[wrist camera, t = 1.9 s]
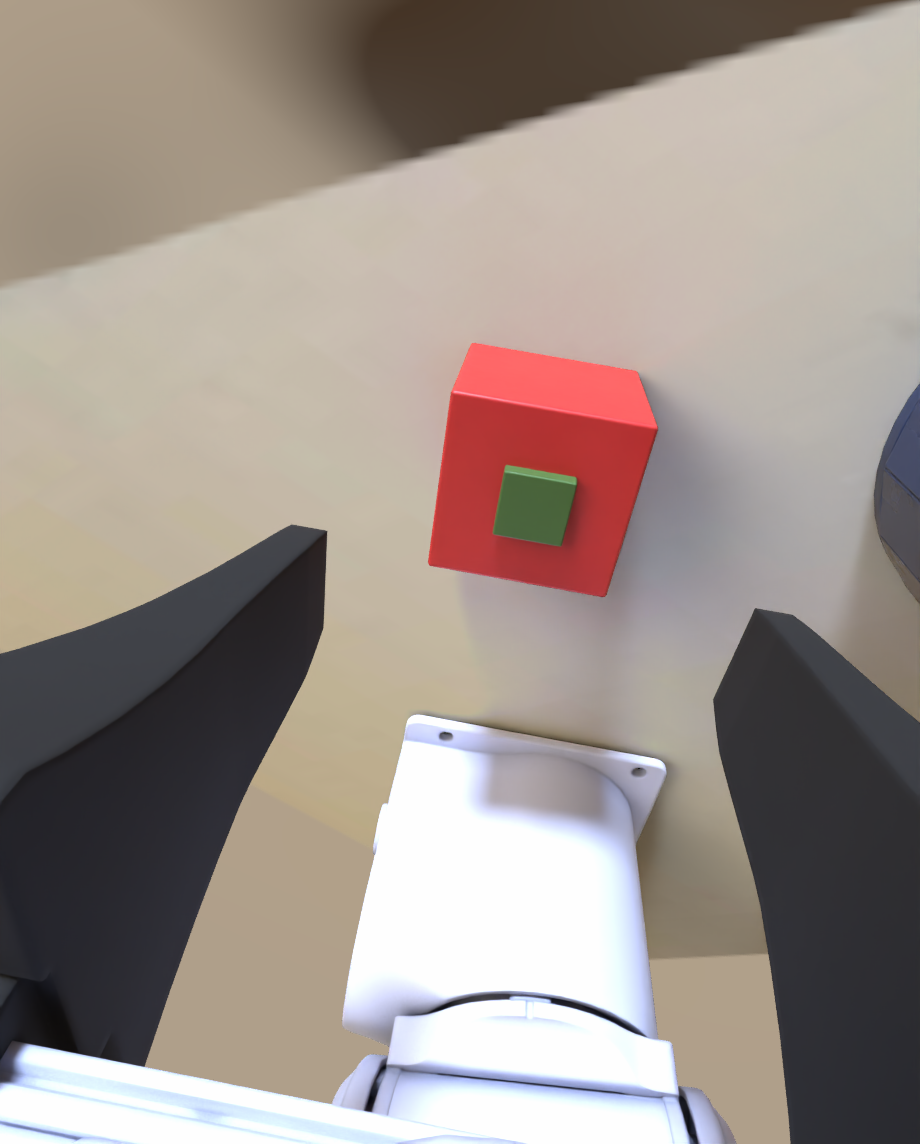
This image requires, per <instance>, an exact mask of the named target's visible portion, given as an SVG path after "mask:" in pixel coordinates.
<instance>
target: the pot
mask: <svg viewBox="0 0 920 1144" xmlns="http://www.w3.org/2000/svg"><path fill="white" fill-rule="evenodd" d="M874 507H875V519H876V524H877V529H878V534H879V537H880V539H881V542H882V544H883V547H884V549H885V552H886V554H887V555H888V557H889V558H890V560H891V562H892V563H893V565H894V566H895V568H896V569H897V571H898V572H899V574H900V576H901V578H902V580H903V582H904V584H905V586H906V587H907V588H908V590H909V591H910V592H911V593H912V595H913V596H914V597H915V598H916V600H917V601H918V602H919V603H920V384H919V385H918V387H917V388H916V389H915V391H914V392H913V393H912V395H911V396H910V397H909V399H908V400H907V402H906V404H905V406H904V407H903V409H902V411H901V413H900V414H899V416H898V418H897V419H896V421H895V423H894V425H893V427H892V430H891V432H890V434H889V437H888V439H887V441H886V444H885V446H884V449H883V452H882V456H881V459H880V463H879V466H878V470H877V476H876V484H875V491H874Z"/></svg>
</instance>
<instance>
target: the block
mask: <svg viewBox="0 0 920 1144" xmlns="http://www.w3.org/2000/svg"><path fill="white" fill-rule="evenodd" d="M657 431H658V426H657V423H656V421H655V418H654V415H653V413H652V410H651V407H650V405H649V402H648V399H647V396H646V394H645V391H644V388H643V386H642V383H641V380H640V378H639V375H638V372H636V371H632V370H626V369H620V368H615V367H609V366H603V365H597V364H592V363H586V362H580V361H574V360H569V359H563V358H557V357H551V356H546V355H540V354H534V353H528V352H523V351H517V350H511V349H505V348H499V347H494V346H488V345H482V344H476V343H472V344H471V346H470V348H469V350H468V353H467V355H466V358H465V360H464V363H463V365H462V367H461V370H460V372H459V375H458V377H457V380H456V382H455V384H454V387H453V389H452V392H451V396H450V403H449V411H448V418H447V426H446V433H445V440H444V448H443V455H442V462H441V470H440V477H439V485H438V492H437V499H436V507H435V514H434V522H433V529H432V536H431V544H430V551H429V559H428V563H429V565H430V566H434V567H439V568H445V569H450V570H456V571H461V572H467V573H472V574H478V575H483V576H489V577H494V578H500V579H505V580H511V581H516V582H522V583H527V584H533V585H539V586H544V587H550V588H555V589H561V590H566V591H572V592H577V593H583V594H588V595H594V596H599V597H605V596H606V595H607V592H608V589H609V585H610V582H611V579H612V576H613V572H614V569H615V566H616V563H617V560H618V556H619V553H620V550H621V547H622V544H623V540H624V537H625V534H626V531H627V527H628V524H629V521H630V518H631V515H632V511H633V508H634V505H635V502H636V499H637V495H638V492H639V489H640V486H641V482H642V479H643V476H644V473H645V470H646V466H647V463H648V460H649V457H650V454H651V450H652V447H653V444H654V441H655V437H656V434H657Z"/></svg>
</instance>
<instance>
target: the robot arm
mask: <svg viewBox="0 0 920 1144" xmlns="http://www.w3.org/2000/svg"><path fill="white" fill-rule="evenodd" d="M326 548H327V531H325V530H319V529H314V528H308V527H303V526H297V525H290V526H288V527H286V528H284V529H282V530H280V531H279V532H277V533H275V534H273V535H272V536H270V537H268V538H267V539H265V540H263V541H262V542H260V543H258V544H257V545H255V546H253V547H252V548H250V549H248V550H246V551H245V552H243V553H241V554H240V555H238V556H236V557H234V558H233V559H231V560H229V561H227V562H225V563H224V564H222V565H220V566H218V567H217V568H215V569H213V570H211V571H210V572H208V573H206V574H204V575H202V576H200V577H198V578H196V579H194V580H192V581H190V582H188V583H186V584H184V585H182V586H180V587H178V588H176V589H174V590H172V591H170V592H168V593H166V594H164V595H162V596H160V597H158V598H156V599H154V600H152V601H150V602H147V603H145V604H143V605H141V606H138V607H136V608H134V609H131V610H129V611H127V612H124V613H122V614H119V615H117V616H114V617H111V618H109V619H106V620H104V621H101V622H99V623H96V624H94V625H91V626H88V627H85V628H82V629H79V630H76V631H73V632H70V633H67V634H64V635H61V636H57V637H54V638H51V639H48V640H45V641H42V642H39V643H35V644H32V645H29V646H26V647H23V648H20V649H16V650H13V651H9V652H6V653H2V654H0V1144H736V1141H735V1139H734V1136H733V1134H732V1132H731V1130H730V1128H729V1126H728V1124H727V1123H726V1121H725V1120H724V1119H723V1118H722V1117H721V1116H720V1114H719V1113H718V1112H717V1111H716V1110H715V1108H714V1107H713V1106H712V1104H711V1102H710V1100H709V1098H708V1097H707V1096H706V1095H705V1094H704V1093H703V1091H702V1090H700V1089H697V1088H692V1087H682V1086H678V1083H677V1076H676V1068H675V1060H674V1052H673V1045H672V1044H671V1043H670V1042H669V1041H664V1040H658V1033H657V1025H656V1017H655V1008H654V1000H653V991H652V982H651V974H650V965H649V957H648V948H647V940H646V931H645V923H644V914H643V906H642V897H641V889H640V880H639V872H638V863H637V855H636V844H637V842H638V839H639V837H640V835H641V833H642V830H643V828H644V826H645V824H646V821H647V819H648V817H649V815H650V812H651V810H652V808H653V806H654V803H655V801H656V799H657V797H658V795H659V792H660V790H661V788H662V786H663V783H664V781H665V779H666V776H667V771H666V767H665V764H664V763H663V762H662V761H661V760H658V759H655V758H649V757H644V756H639V755H633V754H628V753H623V752H617V751H612V750H606V749H601V748H596V747H590V746H585V745H580V744H574V743H569V742H564V741H558V740H553V739H547V738H542V737H537V736H531V735H526V734H521V733H515V732H510V731H505V730H499V729H494V728H488V727H483V726H478V725H472V724H467V723H462V722H456V721H451V720H446V719H440V718H435V717H429V716H424V715H415V716H412V717H410V718H409V719H408V721H407V725H406V729H405V736H404V742H403V746H402V750H401V754H400V758H399V762H398V766H397V770H396V774H395V778H394V782H393V786H392V790H391V794H390V798H389V802H388V804H386V803H385V804H383V806H382V809H381V812H380V816H379V820H378V825H377V830H376V835H375V840H374V847H373V854H374V855H375V858H374V862H373V866H372V870H371V874H370V878H369V882H368V886H367V891H366V895H365V899H364V904H363V908H362V913H361V917H360V922H359V927H358V932H357V936H356V941H355V946H354V951H353V956H352V961H351V967H350V972H349V978H348V984H347V990H346V996H345V1003H344V1010H343V1020H342V1026H343V1028H344V1029H346V1030H348V1031H350V1032H353V1033H355V1034H358V1035H361V1036H364V1037H368V1038H370V1039H373V1040H375V1041H377V1042H380V1043H382V1044H384V1045H387V1046H388V1047H390V1048H389V1054H388V1056H385V1055H368V1056H366V1057H365V1058H364V1059H363V1060H362V1061H361V1062H360V1063H359V1065H358V1066H357V1068H356V1070H355V1071H354V1072H353V1073H352V1074H351V1075H350V1076H349V1077H348V1078H347V1079H346V1080H345V1081H344V1082H343V1083H342V1085H341V1086H340V1088H339V1089H338V1091H337V1093H336V1095H335V1097H334V1100H333V1102H332V1104H326V1103H321V1102H316V1101H311V1100H306V1099H301V1098H296V1097H291V1096H286V1095H281V1094H276V1093H271V1092H266V1091H261V1090H256V1089H251V1088H246V1087H241V1086H236V1085H231V1084H226V1083H221V1082H216V1081H211V1080H206V1079H201V1078H196V1077H191V1076H186V1075H181V1074H176V1073H171V1072H166V1071H161V1070H156V1069H151V1068H146V1067H144V1066H145V1063H146V1060H147V1057H148V1054H149V1051H150V1048H151V1046H152V1043H153V1040H154V1036H155V1034H156V1031H157V1028H158V1025H159V1022H160V1019H161V1016H162V1013H163V1010H164V1007H165V1004H166V1001H167V998H168V995H169V992H170V989H171V986H172V984H173V981H174V978H175V975H176V972H177V970H178V967H179V964H180V961H181V958H182V956H183V953H184V950H185V947H186V945H187V942H188V939H189V936H190V933H191V930H192V928H193V925H194V922H195V919H196V917H197V914H198V911H199V909H200V906H201V903H202V901H203V898H204V896H205V893H206V890H207V888H208V885H209V882H210V880H211V877H212V874H213V872H214V869H215V867H216V864H217V861H218V858H219V856H220V853H221V851H222V848H223V846H224V844H225V841H226V838H227V836H228V834H229V831H230V828H231V826H232V823H233V821H234V818H235V816H236V813H237V811H238V808H239V806H240V803H241V802H242V800H243V797H244V795H245V793H246V791H247V789H248V787H249V785H250V783H251V781H252V779H253V777H254V775H255V773H256V771H257V769H258V767H259V765H260V763H261V762H262V760H263V758H264V756H265V754H266V752H267V750H268V748H269V746H270V744H271V743H272V741H273V739H274V737H275V735H276V733H277V731H278V729H279V727H280V725H281V724H282V722H283V720H284V718H285V716H286V714H287V712H288V710H289V708H290V706H291V704H292V703H293V701H294V699H295V697H296V695H297V693H298V691H299V689H300V687H301V685H302V683H303V681H304V679H305V677H306V675H307V672H308V669H309V667H310V664H311V661H312V659H313V656H314V653H315V650H316V648H317V645H318V642H319V639H320V636H321V633H322V630H323V624H324V599H325V573H326ZM713 702H714V712H715V722H716V731H717V738H718V745H719V752H720V757H721V760H722V764H723V768H724V772H725V776H726V779H727V783H728V787H729V790H730V794H731V798H732V801H733V805H734V808H735V812H736V816H737V819H738V823H739V826H740V830H741V833H742V837H743V840H744V844H745V848H746V851H747V855H748V858H749V862H750V865H751V869H752V872H753V876H754V880H755V884H756V889H757V893H758V897H759V902H760V906H761V912H762V918H763V924H764V930H765V936H766V942H767V948H768V954H769V960H770V966H771V973H772V981H773V988H774V995H775V1002H776V1010H777V1017H778V1024H779V1031H780V1040H781V1049H782V1058H783V1068H784V1078H785V1087H786V1096H787V1106H788V1115H789V1126H790V1127H789V1128H790V1141H791V1144H920V723H919V722H918V721H917V720H916V719H915V718H913V717H912V716H911V715H910V714H909V713H907V712H906V711H905V710H904V709H903V708H901V707H900V706H899V705H898V704H897V703H895V702H894V701H893V700H892V699H891V698H890V697H888V696H887V695H886V694H885V693H884V692H883V691H881V690H880V689H879V688H878V687H877V686H876V685H875V684H873V683H872V682H871V681H870V680H869V679H868V678H867V677H865V676H864V675H863V674H862V673H861V672H860V671H859V670H858V669H856V668H855V667H854V666H853V665H852V664H851V663H850V662H848V661H847V660H846V659H845V658H844V657H843V656H842V655H841V654H839V653H838V652H837V651H836V650H835V649H834V648H833V647H831V646H830V645H829V644H828V643H827V642H826V641H825V640H823V639H822V638H821V637H820V636H819V635H818V634H816V633H815V632H814V631H813V630H812V629H810V628H809V627H808V626H807V625H805V624H804V623H803V622H801V621H800V620H799V619H797V618H796V617H795V616H793V615H790V614H784V613H779V612H773V611H768V610H762V609H757V608H755V610H754V612H753V614H752V617H751V619H750V621H749V623H748V625H747V627H746V630H745V632H744V634H743V636H742V638H741V640H740V643H739V645H738V647H737V649H736V651H735V653H734V656H733V658H732V660H731V662H730V664H729V666H728V669H727V671H726V673H725V675H724V677H723V679H722V682H721V684H720V686H719V688H718V690H717V692H716V695H715V697H714V699H713ZM443 732H449V733H451V734H445V733H443ZM635 768H642V769H640V770H635Z"/></svg>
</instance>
